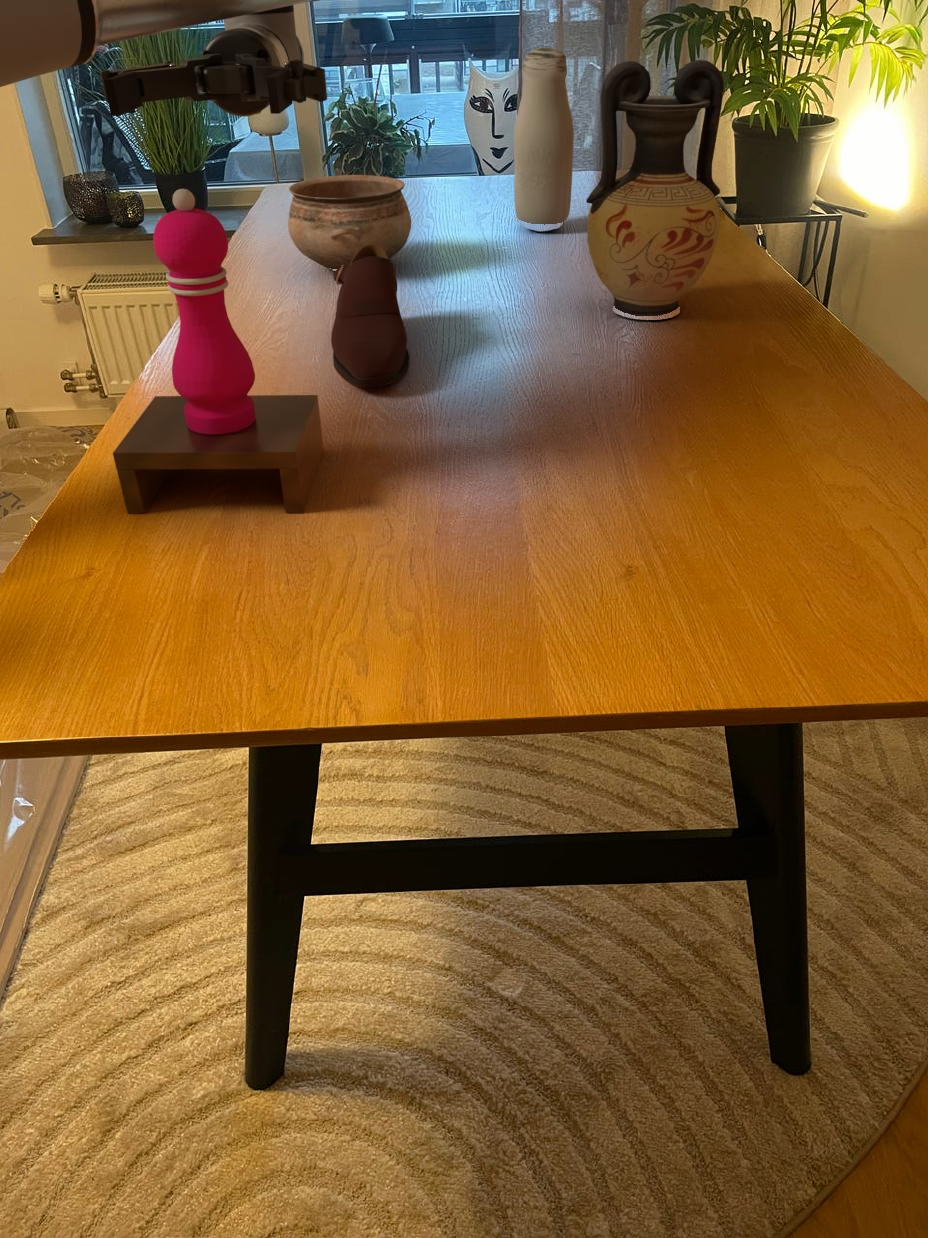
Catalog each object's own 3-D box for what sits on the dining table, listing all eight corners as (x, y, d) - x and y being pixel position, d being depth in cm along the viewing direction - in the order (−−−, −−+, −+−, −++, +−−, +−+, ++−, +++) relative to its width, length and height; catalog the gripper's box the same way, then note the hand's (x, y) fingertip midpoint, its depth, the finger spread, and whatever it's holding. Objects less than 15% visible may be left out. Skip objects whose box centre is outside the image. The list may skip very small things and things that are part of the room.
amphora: (675, 288, 142) (699, 51, 125) (733, 322, 129) (770, 62, 111) (562, 300, 138) (572, 57, 121) (611, 337, 125) (629, 70, 107)
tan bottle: (573, 224, 175) (580, 44, 159) (564, 238, 167) (572, 50, 151) (519, 222, 177) (521, 45, 161) (508, 236, 169) (509, 50, 153)
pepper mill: (178, 441, 86) (130, 200, 75) (184, 409, 92) (140, 182, 80) (260, 434, 87) (225, 195, 75) (261, 403, 93) (229, 177, 81)
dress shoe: (331, 401, 109) (320, 296, 102) (336, 322, 132) (327, 232, 125) (413, 397, 109) (408, 292, 103) (403, 319, 132) (399, 229, 126)
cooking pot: (414, 289, 144) (410, 201, 137) (286, 293, 143) (275, 205, 136) (411, 247, 164) (408, 168, 157) (299, 250, 163) (291, 172, 156)
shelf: (127, 513, 88) (112, 452, 84) (167, 452, 98) (155, 395, 95) (303, 513, 87) (295, 451, 84) (323, 451, 98) (317, 394, 94)
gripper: (370, 110, 100) (344, 143, 83) (131, 113, 101) (56, 147, 83) (365, 25, 96) (336, 41, 78) (116, 29, 97) (33, 46, 79)
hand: (192, 96), depth 81 cm, fingers open, 13 cm apart
